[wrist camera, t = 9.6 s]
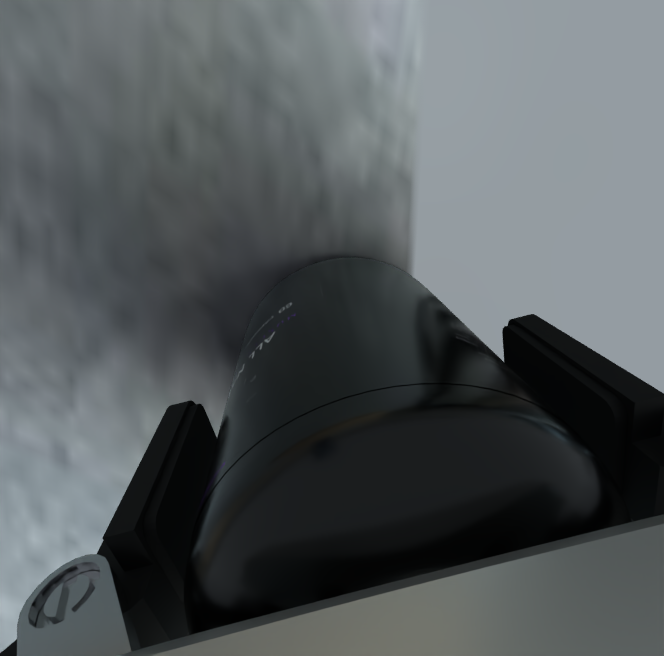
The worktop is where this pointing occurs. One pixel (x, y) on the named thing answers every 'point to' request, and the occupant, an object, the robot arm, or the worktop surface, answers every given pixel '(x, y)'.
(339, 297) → the supplement bottle
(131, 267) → the worktop surface
